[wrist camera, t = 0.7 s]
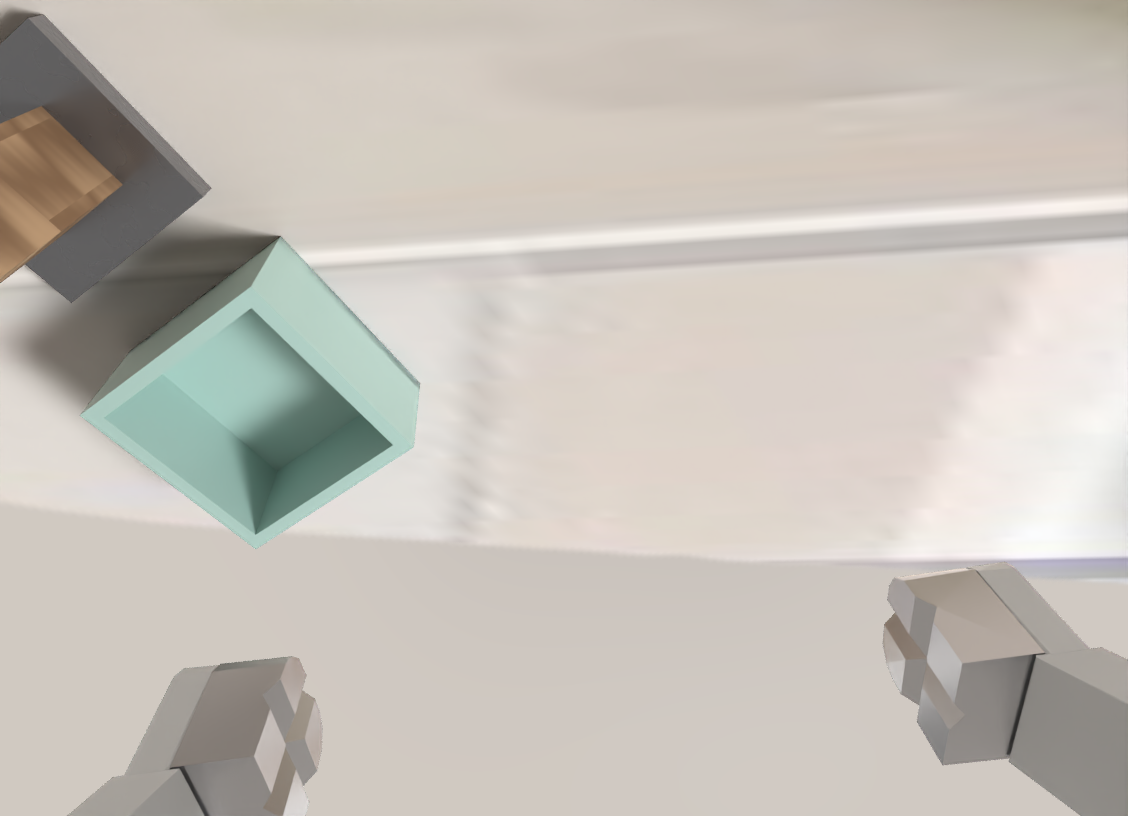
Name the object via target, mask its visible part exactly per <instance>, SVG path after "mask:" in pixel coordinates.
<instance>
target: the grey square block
mask: <svg viewBox="0 0 1128 816" xmlns="http://www.w3.org/2000/svg"><path fill="white" fill-rule="evenodd" d="M40 106H42V107H43V108H44V109H45V110H46V111H47V112H48V113H49V114H50V115H51V116H52V117H53V118H54V119H55V120H56V121H57V122H58V123H59V124H61V125H62V126H63V127H64V128H65V129H66V130H67V131H68V132H69V133H70V134H71V135H72V136H73V137H74V138H75V139H76V140H77V141H78V142H79V143H80V144H81V145H82V146H83V147H84V148H85V149H86V150H87V151H88V152H89V153H91V154H92V155H93V156H94V157H95V158H96V159H97V160H98V161H99V162H100V163H101V164H102V165H103V166H104V167H105V168H106V169H107V170H108V171H109V172H110V173H111V174H112V175H113V176H114V177H115V178H116V179H117V180H118V181H119V182H121V183H122V184H123V185H122V186H121V187H119V188H118V189H117V190H116V191H115V192H113V193H112V194H111V195H110V196H109V197H107V198H106V199H105V200H104V201H103V202H101V203H100V204H99V205H98V206H97V207H96V208H94V209H93V210H92V211H91V212H90V213H88V214H87V215H86V216H85V217H84V218H82V219H81V220H80V221H79V222H78V223H76V224H75V225H74V226H73V227H72V228H70V229H69V230H68V231H67V232H66V233H64V234H63V235H62V236H61V237H60V238H58V239H57V240H56V241H54V242H53V243H52V244H50V245H49V246H48V247H47V248H45V249H44V250H43V251H41V252H40V253H39V254H37V255H36V256H35V257H34V258H32V259H31V260H30V261H28V262H27V263H26V265H27V266H28V267H29V268H30V269H32V270H33V271H34V272H35V273H36V274H38V275H39V276H40V277H41V278H42V279H44V280H45V281H46V282H47V283H48V284H50V285H51V286H52V287H53V288H54V289H55V290H57V291H58V292H59V293H60V294H61V295H63V296H64V297H65V298H66V299H67V300H69V301H70V302H71V303H72V302H73V301H74V300H75V299H77V298H78V297H79V296H80V295H82V294H83V293H84V292H85V291H87V290H88V289H89V288H90V287H92V286H93V285H94V284H95V283H97V282H98V281H99V280H100V279H102V278H103V277H104V276H105V275H107V274H108V273H109V272H110V271H112V270H113V269H114V268H115V267H117V266H118V265H119V264H120V263H122V262H123V261H124V260H125V259H126V258H128V257H129V256H130V255H131V254H133V253H134V252H135V251H136V250H138V249H139V248H140V247H141V246H143V245H144V244H145V243H146V242H148V241H149V240H150V239H151V238H153V237H154V236H155V235H156V234H158V233H159V232H160V231H161V230H163V229H164V228H165V227H166V226H168V225H169V224H170V223H171V222H173V221H174V220H175V219H176V218H177V217H179V216H180V215H181V214H182V213H184V212H185V211H186V210H187V209H189V208H190V207H191V206H192V205H194V204H195V203H196V202H197V201H199V200H200V199H201V198H202V197H204V195H205V194H206V193H207V192H208V191H209V190H210V189H211V187H210V186H209V185H208V184H207V183H206V182H205V181H204V180H203V179H202V178H201V177H200V176H199V175H198V174H197V173H196V172H195V171H194V170H193V169H192V168H191V167H190V166H189V165H188V164H187V163H186V162H185V161H184V160H183V158H182V157H181V156H180V155H179V154H178V153H177V152H176V151H175V150H174V149H173V148H172V147H171V146H170V145H169V144H168V143H167V142H166V141H165V140H164V139H163V138H162V137H161V136H160V135H159V134H158V133H157V132H156V131H155V130H154V128H153V127H152V126H151V125H150V124H149V123H148V122H147V121H146V120H145V119H144V118H143V117H142V116H141V115H140V114H139V113H138V112H137V111H136V110H135V109H134V108H133V107H132V106H131V105H130V104H129V103H128V102H127V101H126V99H125V98H124V97H123V96H122V95H121V94H120V93H119V92H118V91H117V90H116V89H115V88H114V87H113V86H112V85H111V84H110V83H109V82H108V81H107V80H106V79H105V78H104V77H103V76H102V75H101V74H100V73H99V72H98V70H97V69H96V68H95V67H94V66H93V65H92V64H91V63H90V62H89V61H88V60H87V59H86V58H85V57H84V56H83V55H82V54H81V53H80V52H79V51H78V50H77V49H76V48H75V47H74V46H73V45H72V44H71V43H70V41H69V40H68V39H67V38H66V37H65V36H64V35H63V34H62V33H61V32H60V31H59V30H58V29H57V28H56V27H55V26H54V25H53V24H52V23H51V22H50V21H49V20H48V19H47V18H46V17H45V16H44V15H39V16H35V17H30V18H27V19H26V20H25V21H24V22H23V23H22V24H21V25H20V26H19V27H18V28H17V29H16V30H15V31H14V32H13V33H12V34H10V35H9V36H8V37H7V38H6V39H5V40H4V41H3V42H2V43H1V44H0V124H1V123H3V122H5V121H8V120H10V119H12V118H15V117H17V116H19V115H22V114H24V113H26V112H29V111H31V110H33V109H36V108H38V107H40Z"/></svg>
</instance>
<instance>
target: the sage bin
mask: <svg viewBox="0 0 1128 816" xmlns="http://www.w3.org/2000/svg"><path fill="white" fill-rule="evenodd" d="M419 389H420V383H419V382H418V381H417V380H416V379H415V378H414V377H413V376H412V375H411V374H410V372H409V371H408V370H407V369H406V368H405V367H404V366H403V365H402V364H401V363H400V362H399V361H398V360H397V359H396V358H395V357H394V356H393V354H392V353H391V352H390V351H389V350H388V349H387V348H386V347H385V346H384V345H383V344H382V343H381V342H380V341H379V340H378V339H377V338H376V337H375V335H374V334H373V333H372V332H371V331H370V330H369V329H368V328H367V327H366V326H365V325H364V324H363V323H362V322H361V321H360V320H359V319H358V317H357V316H356V315H355V314H354V313H353V312H352V311H351V310H350V309H349V308H348V307H347V306H346V305H345V304H344V303H343V302H342V301H341V300H340V298H339V297H338V296H337V295H336V294H335V293H334V292H333V291H332V290H331V289H330V288H329V287H328V286H327V285H326V284H325V283H324V282H323V281H322V279H321V278H320V277H319V276H318V275H317V274H316V273H315V272H314V271H313V270H312V269H311V268H310V267H309V266H308V265H307V264H306V263H305V261H304V260H303V259H302V258H301V257H300V256H299V255H298V254H297V253H296V252H295V251H294V250H293V249H292V248H291V247H290V246H289V245H288V244H287V242H286V241H285V240H284V239H283V238H282V237H281V236H280V237H279V238H278V239H276V240H275V241H274V242H273V243H271V244H270V245H269V246H267V247H266V248H265V249H263V250H262V251H261V252H259V253H258V254H257V255H255V256H254V257H253V258H252V259H250V260H249V261H248V262H246V263H245V264H244V265H242V266H241V267H240V268H238V269H237V270H236V271H235V272H233V273H232V274H231V275H229V276H228V277H227V278H225V279H224V280H223V281H221V282H220V283H219V284H218V285H216V286H215V287H214V288H212V289H211V290H210V291H208V292H207V293H206V294H204V295H203V296H202V297H200V298H199V299H198V300H197V301H195V302H194V303H193V304H191V305H190V306H189V307H187V308H186V309H185V310H183V311H182V312H181V313H180V314H178V315H177V316H176V317H174V318H173V319H172V320H170V321H169V322H168V323H166V324H165V325H164V326H163V327H161V328H160V329H159V330H157V331H156V332H155V333H153V334H152V335H151V336H149V337H148V338H147V339H146V340H144V341H143V342H142V343H140V344H139V345H138V346H136V347H135V348H134V349H132V350H131V351H130V352H129V353H128V355H127V356H126V357H125V358H124V360H123V361H122V362H121V363H120V365H119V366H118V367H117V369H116V370H115V371H114V372H113V374H112V375H111V376H110V378H109V379H108V380H107V381H106V383H105V384H104V385H103V386H102V388H101V389H100V390H99V392H98V393H97V394H96V395H95V397H94V398H93V399H92V400H91V402H90V403H89V404H88V406H87V407H86V408H85V409H84V411H83V412H82V413H81V414H80V416H81V417H82V418H84V419H85V420H86V421H88V422H89V423H90V424H92V425H93V426H94V427H96V428H97V429H98V430H100V431H101V432H102V433H103V434H105V435H106V436H107V437H109V438H110V439H111V440H113V441H114V442H115V443H117V444H118V445H119V446H121V447H122V448H123V449H125V450H126V451H127V452H128V453H130V454H131V455H132V456H134V457H135V458H136V459H138V460H139V461H140V462H142V463H143V464H144V465H146V466H147V467H148V468H149V469H151V470H152V471H153V472H155V473H156V474H157V475H159V476H160V477H161V478H163V479H164V480H165V481H167V482H168V483H169V484H171V485H172V486H173V487H174V488H176V489H177V490H178V491H180V492H181V493H182V494H184V495H185V496H186V497H188V498H189V499H190V500H192V501H193V502H194V503H196V504H197V505H198V506H199V507H201V508H202V509H203V510H205V511H206V512H207V513H209V514H210V515H211V516H213V517H214V518H215V519H217V520H218V521H219V522H221V523H222V524H223V525H224V526H226V527H227V528H228V529H230V530H231V531H232V532H234V533H235V534H236V535H238V536H239V537H240V538H242V539H243V540H244V541H246V542H247V543H248V544H249V545H251V546H252V547H253V548H255V549H257V548H259V547H260V546H262V545H263V544H265V543H266V542H268V541H269V540H271V539H272V538H274V537H276V536H277V535H279V534H280V533H282V532H283V531H285V530H286V529H288V528H290V527H291V526H293V525H294V524H296V523H297V522H299V521H300V520H302V519H303V518H305V517H307V516H308V515H310V514H311V513H313V512H314V511H316V510H317V509H319V508H321V507H322V506H324V505H325V504H327V503H328V502H330V501H331V500H333V499H334V498H336V497H338V496H339V495H341V494H342V493H344V492H345V491H347V490H348V489H350V488H351V487H353V486H355V485H356V484H358V483H359V482H361V481H362V480H364V479H365V478H367V477H368V476H370V475H372V474H373V473H375V472H376V471H378V470H379V469H381V468H382V467H384V466H385V465H387V464H389V463H390V462H392V461H393V460H395V459H396V458H398V457H399V456H401V455H402V454H404V453H406V452H407V451H409V450H410V449H412V448H413V447H414V440H415V430H416V420H417V409H418V399H419Z"/></svg>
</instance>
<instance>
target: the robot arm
mask: <svg viewBox="0 0 1128 816" xmlns="http://www.w3.org/2000/svg"><path fill="white" fill-rule="evenodd" d="M887 600H888V602H889V603H890V605H891V606H892V608H893V610H894V611H895V613H894V614H893V615H892V617H891V618H890V619H889V620H888V621H887V622H886V623H885V624H884V634H883V647H884V653H885V658H886V663H887V666H888V669H889V671H890V674H891V676H892V679H893V681H894V682H895V684H896V686H897V688H898V690H899V691H900V693H901V694H902V695H904V696H905V697H907V698H908V699H910V700H911V701H913V702H915V703H916V704H918V705H919V712H918V719H917V723H918V724H919V726H920V727H921V729H922V731H923V733H924V734H925V736H926V738H927V740H928V741H929V743H930V745H931V746H932V748H933V750H934V752H935V753H936V755H937V757H938V758H939V760H940V762H941V763H942V765H949V764H959V763H969V762H978V761H987V760H998V759H1007V758H1010V759H1009V762H1010V763H1011V764H1013V765H1014V766H1015V767H1016V768H1018V769H1019V770H1021V771H1022V772H1023V773H1024V774H1026V775H1027V776H1028V777H1030V778H1031V779H1032V780H1034V781H1035V782H1036V783H1038V784H1039V785H1040V786H1042V787H1043V788H1045V789H1046V790H1047V791H1048V792H1050V793H1051V794H1052V795H1054V796H1055V797H1056V798H1058V799H1059V800H1060V801H1062V802H1063V803H1064V804H1066V805H1067V806H1068V807H1070V808H1071V809H1072V810H1074V811H1075V812H1076V813H1078V814H1079V815H1080V816H1128V660H1127V659H1125V658H1123V657H1121V656H1119V655H1117V654H1115V653H1113V652H1110V651H1108V650H1106V649H1104V648H1102V647H1100V648H1091V649H1090V648H1089V647H1088V646H1087V645H1086V644H1085V643H1084V642H1083V641H1082V639H1081V638H1080V637H1079V636H1078V635H1077V634H1076V633H1075V632H1074V631H1073V630H1072V629H1071V628H1070V626H1069V625H1068V624H1067V623H1066V622H1065V621H1064V620H1063V619H1062V618H1061V617H1060V616H1059V615H1058V614H1057V612H1056V611H1055V610H1054V609H1053V608H1052V607H1051V606H1050V605H1049V604H1048V603H1047V602H1046V601H1045V600H1044V599H1043V597H1042V596H1041V595H1040V594H1039V593H1038V592H1037V591H1036V590H1035V589H1034V588H1033V587H1032V586H1031V584H1030V583H1029V582H1028V581H1027V580H1026V579H1025V578H1024V577H1023V576H1022V575H1021V574H1020V573H1019V571H1018V570H1017V569H1016V568H1015V567H1014V566H1012V565H1010V564H1008V563H1006V562H1000V563H993V564H986V565H979V566H972V567H967V568H960V569H953V570H945V571H938V572H931V573H924V574H917V575H910V576H903V577H895V578H894V579H893V580H892V582H891V584H890V585H889V592H888V599H887ZM305 679H306V673H305V671H304V669H303V666H302V664H301V662H300V660H299V658H296V657H292V656H291V657H281V658H272V659H264V660H253V661H243V662H234V663H225V664H220V665H214V666H204V667H194V668H184V669H183V670H181V671H180V672H179V673H178V674H177V675H175V676H174V678H173V680H172V681H171V684H170V685H169V687H168V689H167V691H166V693H165V695H164V697H163V699H162V701H161V703H160V705H159V707H158V709H157V711H156V713H155V715H154V717H153V719H152V721H151V723H150V725H149V727H148V729H147V731H146V733H145V735H144V737H143V739H142V741H141V743H140V745H139V747H138V749H137V751H136V753H135V755H134V757H133V759H132V761H131V763H130V765H129V767H128V769H127V771H126V773H125V775H124V776H118V777H112V778H111V779H110V780H109V781H107V783H105V784H104V785H103V786H102V787H100V788H99V789H98V790H97V791H96V792H95V793H94V794H92V795H91V796H90V797H89V798H88V799H86V800H85V801H84V802H83V803H82V804H81V805H79V806H78V807H77V808H76V809H75V810H74V811H72V812H71V813H70V814H69V815H68V816H306V813H307V809H308V805H309V800H308V798H307V795H306V792H305V790H304V787H303V786H304V784H305V783H306V782H307V781H308V780H309V779H310V778H311V777H312V776H313V775H314V774H315V772H316V771H317V768H318V764H319V760H320V756H321V751H322V722H321V716H320V711H319V708H318V705H317V703H316V700H315V698H313V697H311V696H310V695H308V694H307V693H305V692H304V691H302V689H303V686H304V683H305Z"/></svg>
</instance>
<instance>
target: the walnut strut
mask: <svg viewBox="0 0 1128 816" xmlns="http://www.w3.org/2000/svg"><path fill="white" fill-rule="evenodd" d="M122 185H123V184H122V183H121V182H119V181H118V180H117V179H116V178H115V177H114V176H113V175H112V174H111V173H110V172H109V171H108V170H107V169H106V168H105V167H104V166H103V165H102V164H101V163H100V162H99V161H98V160H97V159H96V158H95V157H94V156H93V155H92V154H91V153H89V152H88V151H87V150H86V149H85V148H84V147H83V146H82V145H81V144H80V143H79V142H78V141H77V140H76V139H75V138H74V137H73V136H72V135H71V134H70V133H69V132H68V131H67V130H66V129H65V128H64V127H63V126H62V125H61V124H59V123H58V122H57V121H56V120H55V119H54V118H53V117H52V116H51V115H50V114H49V113H48V112H47V111H46V110H45V109H44V108H43V107H42V106H40V107H38V108H36V109H33V110H31V111H29V112H26V113H24V114H22V115H19V116H17V117H15V118H12V119H10V120H8V121H5V122H3V123H1V124H0V283H1V282H2V281H4V280H5V279H6V278H8V277H9V276H10V275H12V274H13V273H14V272H15V271H17V270H18V269H19V268H21V267H22V266H23V265H25V264H26V263H27V262H28V261H30V260H31V259H32V258H34V257H35V256H36V255H37V254H39V253H40V252H41V251H43V250H44V249H45V248H47V247H48V246H49V245H50V244H52V243H53V242H54V241H56V240H57V239H58V238H60V237H61V236H62V235H63V234H64V233H66V232H67V231H68V230H69V229H70V228H72V227H73V226H74V225H75V224H76V223H78V222H79V221H80V220H81V219H82V218H84V217H85V216H86V215H87V214H88V213H90V212H91V211H92V210H93V209H94V208H96V207H97V206H98V205H99V204H100V203H101V202H103V201H104V200H105V199H106V198H107V197H109V196H110V195H111V194H112V193H113V192H115V191H116V190H117V189H118V188H119V187H121V186H122Z"/></svg>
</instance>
